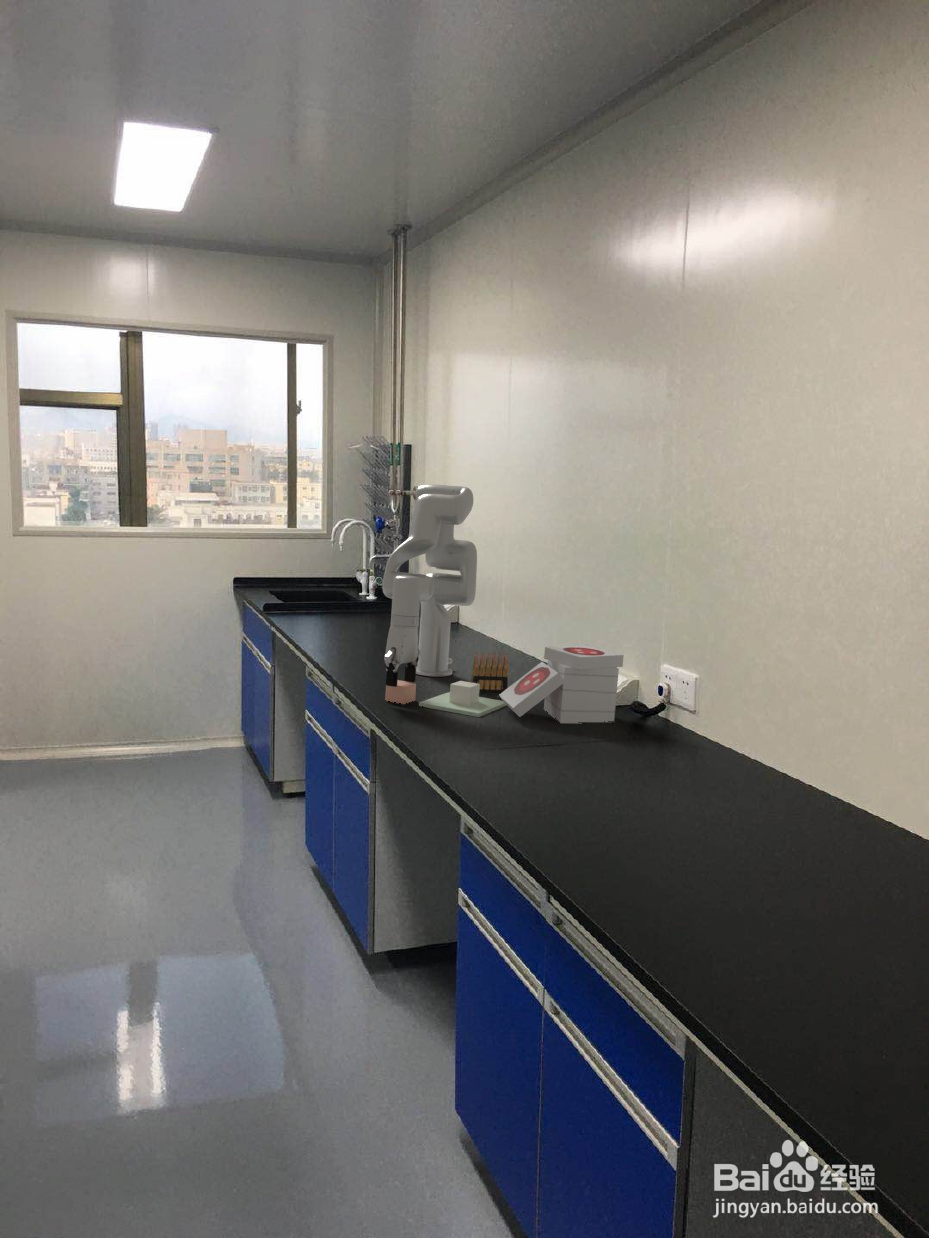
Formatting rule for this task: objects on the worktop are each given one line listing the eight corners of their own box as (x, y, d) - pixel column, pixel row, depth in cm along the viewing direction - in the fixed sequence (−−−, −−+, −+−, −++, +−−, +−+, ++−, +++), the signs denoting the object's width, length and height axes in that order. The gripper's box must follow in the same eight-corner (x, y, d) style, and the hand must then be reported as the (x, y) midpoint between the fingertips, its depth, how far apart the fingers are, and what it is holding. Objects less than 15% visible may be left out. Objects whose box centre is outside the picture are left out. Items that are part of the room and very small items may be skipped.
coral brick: (396, 697, 274) (397, 679, 273) (415, 701, 271) (416, 683, 270) (385, 701, 268) (386, 683, 268) (404, 704, 266) (405, 686, 265)
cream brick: (458, 698, 273) (460, 680, 272) (478, 701, 270) (479, 683, 269) (449, 702, 267) (450, 684, 267) (469, 705, 265) (470, 687, 264)
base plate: (450, 695, 281) (450, 691, 281) (507, 705, 273) (507, 701, 273) (418, 705, 265) (419, 702, 265) (478, 717, 257) (479, 713, 257)
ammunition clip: (505, 692, 289) (508, 652, 288) (507, 693, 288) (510, 653, 286) (470, 691, 287) (473, 651, 286) (471, 693, 285) (474, 652, 284)
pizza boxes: (496, 707, 270) (500, 642, 267) (599, 708, 276) (605, 645, 274) (514, 724, 251) (519, 655, 249) (624, 726, 258) (631, 658, 255)
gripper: (408, 617, 276) (404, 677, 278) (376, 622, 260) (372, 685, 262) (432, 620, 272) (428, 681, 274) (400, 625, 257) (396, 690, 259)
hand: (400, 683), depth 268 cm, fingers open, 9 cm apart
